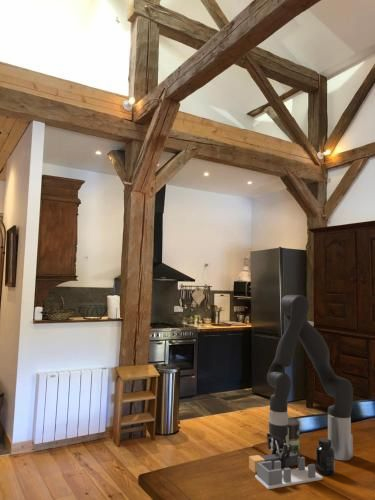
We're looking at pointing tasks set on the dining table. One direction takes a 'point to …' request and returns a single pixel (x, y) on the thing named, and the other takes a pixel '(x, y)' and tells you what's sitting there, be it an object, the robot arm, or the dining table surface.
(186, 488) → the dining table surface
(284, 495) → the dining table surface
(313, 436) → the dining table surface
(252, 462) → the grey orange bar
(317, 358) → the robot arm
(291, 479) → the white grey holder tray
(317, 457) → the supplement bottle
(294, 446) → the coffee can
